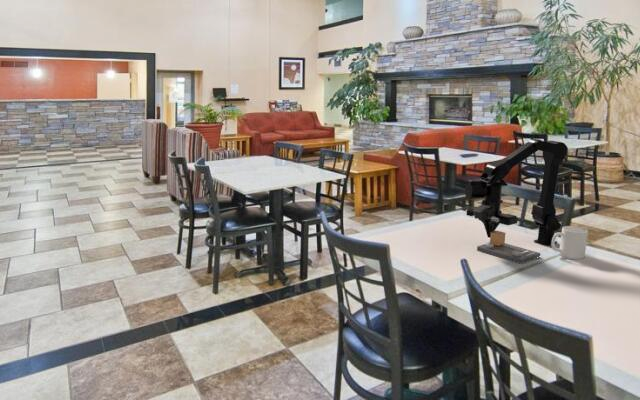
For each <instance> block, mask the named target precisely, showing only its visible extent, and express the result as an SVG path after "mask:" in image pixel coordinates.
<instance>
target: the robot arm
mask: <svg viewBox="0 0 640 400" xmlns="http://www.w3.org/2000/svg"><path fill="white" fill-rule="evenodd" d="M538 151H540V152H542V159H543V161H544V169H543V170H544V171H543V176H542V177H543V178H542V183H541V189H540V195H539V200H538V202H537V203H535V204H534V203H533V204H532V207H531V208H532V211H531V213H530V214H531V217H532V220H533V221H534V224H535V226H538V234H537V239H534V240H533V242H534V243H537V244H542V245H545V246H549V247H550V246H552V245H551V243H552V238H553V236H554V235H555V234H556V231H561V230H560V229H561V227H562V224H561V223H560V222H559V220H558V219H557V210H556V207H555V203H554V199H555V196H556V195H555V193H556V188H557V182H558V176H559V169H560V165H562V163H563V162H564V160H565V158H566V156H567V152H568V145H566V143H565V142H562V141H557V140H547V141H544V140H542V139H539V138H538V139H537V138H530V139H529V140H528V141H527V142H525V143H524V144H523V145H521V146H519V148H517V149H516V150H514V151H513V152H511V153H509V154H508V155H506V156H504V157H503V158H500V159H497V160H494V161H493V162H490V163H488V164H487V165H486V166H484V170H483V172H482V173H481V174H480V175H479V177H478V178H477V180H475V179H474V180H473V179H468V183H466V185H465V187H464V195H465V198H467V199H482V200H481V204H480V205H478V206H472V207H468V208H467V209H466V216H468V217H474V219H478V221H480V222H481V223H482V224H483V226H484V229H485V232H486V236H487V238H488V239H490V236H491V232H494V231H497V230H496V229H497V228H498V226H499V225H500V224H501V225H505V226H512V225H515V224H517V223H518V217H517V215H513V214H509V213H505V214H502V212H503V211H502V210H501V204H503V199H502V189H503V187H508V183H507V182H506V181H505V180H504V179H505V178H506V177H507V176H508V175H509V174H510V172H511V171H512V169H513V168H515V167H516V166H518V165H519V164H520V163H521V162H523V161H524V160H526V159H527V158H529V157H531V156H532V155H533V154H535V153H536V152H538ZM557 243H558V241H557V240H555V245H556V244H557Z"/></svg>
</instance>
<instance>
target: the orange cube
mask: <svg viewBox="0 0 640 400" xmlns="http://www.w3.org/2000/svg"><path fill="white" fill-rule="evenodd" d="M489 243H493V244H494V245H497V246H500V245H503V244H505V243H506V232H504V231H500V230H495V231H494V232H491V236H490V238H489Z"/></svg>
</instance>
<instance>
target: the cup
mask: <svg viewBox="0 0 640 400" xmlns="http://www.w3.org/2000/svg"><path fill="white" fill-rule="evenodd" d="M561 227H562V228H561V232H559V231H558V232H555V235H554V236H553V238H552V243H551V245H550V246H551V249H552V250H553V251H555V252H558V253H559V255H560V257H562V258H564V259H569V260H574V261H575V260H576V261H577V260H579V261H580V260H583V259H584V258H585V256H586V250H587V249H586V248H587V244H588V243H587V242H588V236H589V235H588V234H589V229H586V228H584V227H580V226H574V225H565V226H561ZM557 237H560V242H559V248H557V247H556V244H555V241H556V239H557Z"/></svg>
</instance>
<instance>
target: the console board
mask: <svg viewBox="0 0 640 400" xmlns="http://www.w3.org/2000/svg"><path fill="white" fill-rule="evenodd" d="M476 251H479V252H481V253H485V254H488V255H492V256H495V257H498V258H501V259H504V260H506V261H507V260H508V261H510V260H511V261H510V262H513V261H515V263H517V262H519V263H518V264H520V263H522V264H524V263H523V262H525V263H527V262H526V261H528V262H530V261H529V260H531V259H533V260H535V259H534V258H536V259H538V258H537V257H539V256H540V257H541V252H538V251H535V250H530V249H527V248H523V247H520V246H518V245H517V246H516V245H513V244H509V243H506V242H505V244H503V245H500V246H497V245H494V244H493V243H490V242H486V243H485V244H481V245H478V246H476ZM540 257H539V258H540ZM531 261H532V260H531Z"/></svg>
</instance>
